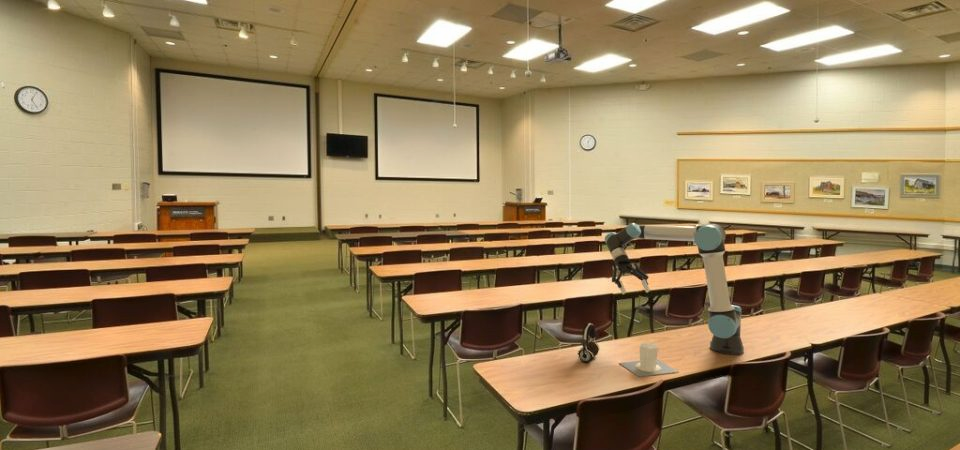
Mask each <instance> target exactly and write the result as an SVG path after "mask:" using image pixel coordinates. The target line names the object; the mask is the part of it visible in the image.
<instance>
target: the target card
mask: <svg viewBox="0 0 960 450" xmlns="http://www.w3.org/2000/svg"><path fill="white" fill-rule="evenodd" d="M618 364H619V365H620V366H622V368H625V369H626V370H627V371H628V372H630V373H632V374H634V375H636V376H637V377H638V378H645V377H651V376H652V375H654V376H659V375H658V374H662V375H669V374H668V373H671V374H676V373H675V372H679V371H678V370H677V369H675V368H674V367H672V366H670V365H668V364H666V363H665V362H663V361H662V360H659V359H658V358H657V362H656V368H655V369H644V368H642V367H641V366H640V360H633V361H632V360H631V361H625V362H623V361H622V362H618Z"/></svg>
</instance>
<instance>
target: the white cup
mask: <svg viewBox="0 0 960 450" xmlns="http://www.w3.org/2000/svg"><path fill="white" fill-rule="evenodd" d="M658 350H659V346H658V345H657V344H656V343H653V342H640V343H639V361H640V366H641V367H642V368H644V369H655V368H656V362H657V359H658Z"/></svg>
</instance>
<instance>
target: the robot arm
mask: <svg viewBox="0 0 960 450" xmlns="http://www.w3.org/2000/svg"><path fill="white" fill-rule="evenodd" d="M726 238H727V233H726V230H725V228H724V227H722V226H721V225H720V224H717V223H708V224H696V225H694V226H686V225H685V226H684V225H683V226H681V225H678V226H677V225H647V224H645V225H644V224H643V225H642V224H637V223H636V222H631V223H630V224H628V225H626V226H625V227H624V228H622V229H621V230H620V231H619V232H612V231H611V232H610V233H606V235H605V236H604V242H605V245H606V247H607V249H608V251H609V253H610V255H611V257H612V260H613V262H614V264H613V265H612V267H611V269H612V273H611V275H612V276H611V283H614V284H615V285H617V286H616V287H617V288H618V289H619V290H620V291H621V294H622V295H625V294H626V293H627V290H626V288H625V286H624V284H623V281H622V280H621V278H622V275H623V274H624V275H625V274H630V275H633V276H634V277H635V278H637V279H638V280H640V281H641V282H640V283H641V285H642V287H643V289H644V291H645V293H649V292H650V290H651V289H650V287H649V283H648V279H649V278H650V277H649V275H648V274H646V273H645V272H644V271H643V270H642V268H640V267H639V266H638V264H637V263H635V264H631V260H630V258H629V256H628V253H627V252H626V250H625V248H624V246H625V245H627V244H628V243H630V242H631V241H634V240H658V241H659V240H661V241H666V240H667V241H683V242H694V243H695V245H696V246H697V250H698V251H697V252H698V254H699V255H700V257H702V260H703V266H704V271H705V272H704V273H705V279H706V286H707V290H708V291H707V293H708V298H709V304H710V305H709V307H708V308H707V313H708V322H707V323H708V324H707V327H708V330H709V332H710V333H711V334H712V338H711V340H710V341H709V348H710V349H711V350H713V351H714V352H718V353H722V354H726V355H741V354H743V353H744V352H745V347H744V345H743V341H742V338H741V327H742V326H741V323H742V307H741V306H739V305H735V304H732V303H731V299H730V293H729V288H728V280H727V275H726V268H725V262H724V254H725V252H726V246H725V240H726ZM617 271H619V273H618V276H617Z"/></svg>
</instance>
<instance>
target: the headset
mask: <svg viewBox="0 0 960 450" xmlns="http://www.w3.org/2000/svg"><path fill="white" fill-rule="evenodd" d="M596 337H597V332H596V326H595V325H594V324H593V323H590V322H588V321H584V323H583V329H582V338H581V341H580V345H581V346H582V347H580V349H578V351H577V355H578V358H579V360H580V361H582V362H583V363H591V362H592V361H593V360H594V358H595V357H596V356H597V355H598V354H599V350H600V345H599V344H598V342H596V340H595V339H596ZM589 338H590V339H589ZM592 339H593V341H592Z"/></svg>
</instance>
